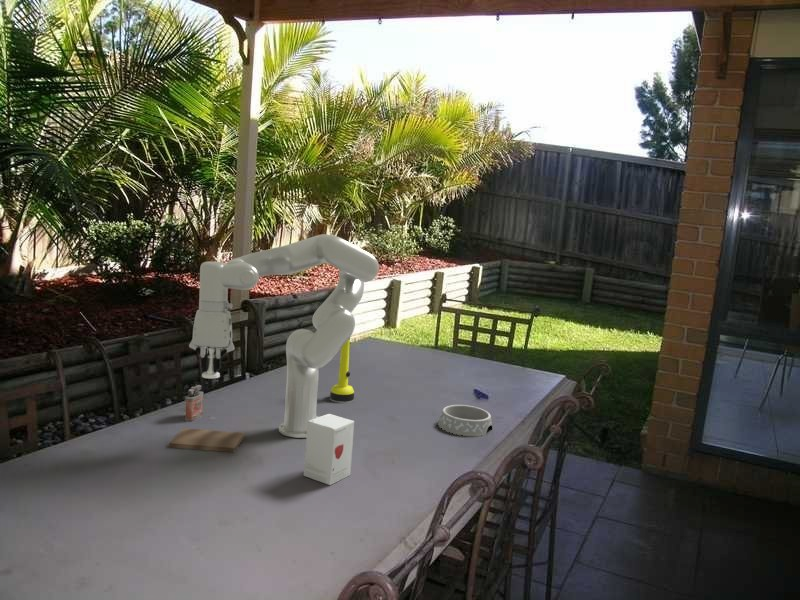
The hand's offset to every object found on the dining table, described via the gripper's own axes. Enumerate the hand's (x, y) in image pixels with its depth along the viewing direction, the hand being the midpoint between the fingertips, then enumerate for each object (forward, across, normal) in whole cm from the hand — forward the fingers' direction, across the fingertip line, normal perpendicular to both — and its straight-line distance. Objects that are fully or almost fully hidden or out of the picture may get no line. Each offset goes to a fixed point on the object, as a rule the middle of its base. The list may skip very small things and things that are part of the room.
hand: (211, 370), depth 181 cm
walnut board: (+21, 0, 0) cm, 21 cm away
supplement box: (+21, -36, +17) cm, 45 cm away
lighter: (+21, +10, -19) cm, 30 cm away
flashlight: (+21, -34, -50) cm, 64 cm away
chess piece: (+2, 0, 0) cm, 2 cm away
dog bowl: (+22, -77, -30) cm, 85 cm away
